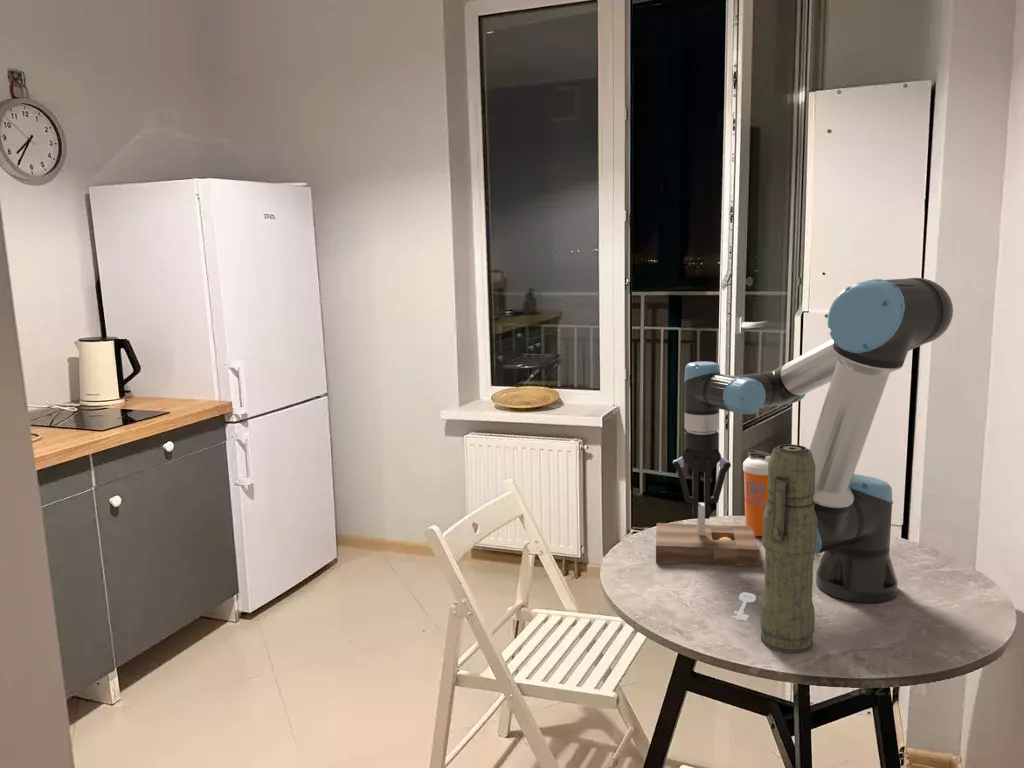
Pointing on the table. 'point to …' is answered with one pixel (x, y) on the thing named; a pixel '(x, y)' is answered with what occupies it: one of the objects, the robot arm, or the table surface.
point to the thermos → (789, 551)
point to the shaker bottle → (756, 489)
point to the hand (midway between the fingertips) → (701, 531)
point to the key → (745, 599)
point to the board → (706, 545)
